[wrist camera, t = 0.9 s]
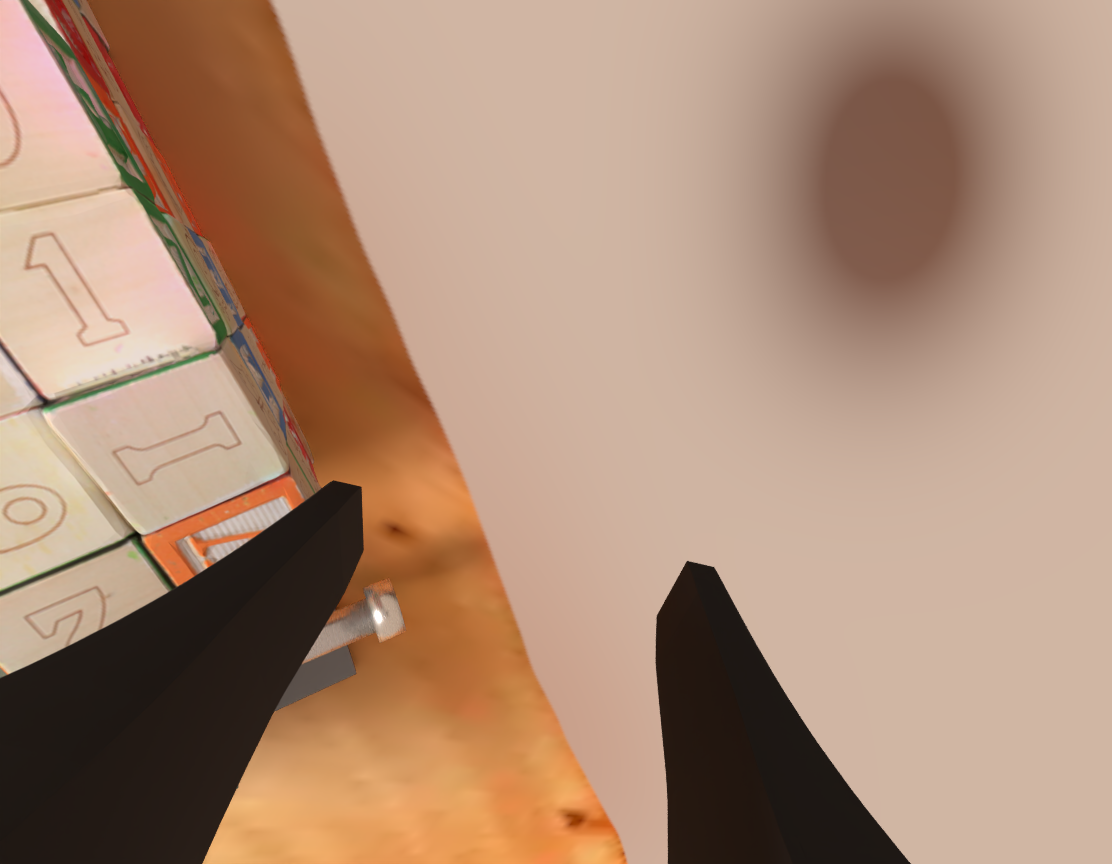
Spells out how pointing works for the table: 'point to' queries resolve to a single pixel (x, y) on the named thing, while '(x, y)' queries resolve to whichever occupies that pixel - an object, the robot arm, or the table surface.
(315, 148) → the table surface
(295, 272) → the table surface
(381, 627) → the shaft
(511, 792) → the table surface
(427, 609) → the table surface
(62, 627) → the stack of blocks
